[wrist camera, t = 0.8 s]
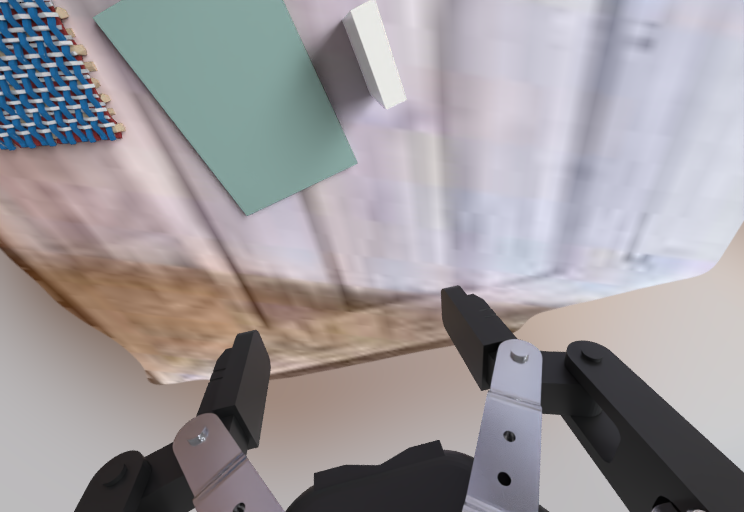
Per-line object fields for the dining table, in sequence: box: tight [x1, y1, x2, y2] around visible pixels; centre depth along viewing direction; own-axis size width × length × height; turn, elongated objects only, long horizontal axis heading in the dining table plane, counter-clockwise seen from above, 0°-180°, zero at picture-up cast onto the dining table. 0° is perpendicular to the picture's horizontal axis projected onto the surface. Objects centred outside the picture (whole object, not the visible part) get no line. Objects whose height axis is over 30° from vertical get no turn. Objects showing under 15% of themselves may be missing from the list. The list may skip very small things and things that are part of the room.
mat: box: [93, 0, 357, 216], centre depth 27 cm, size 18×13×1 cm
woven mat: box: [0, 0, 126, 150], centre depth 23 cm, size 10×11×2 cm
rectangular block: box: [342, 0, 407, 110], centre depth 23 cm, size 6×2×8 cm, turn 23°
